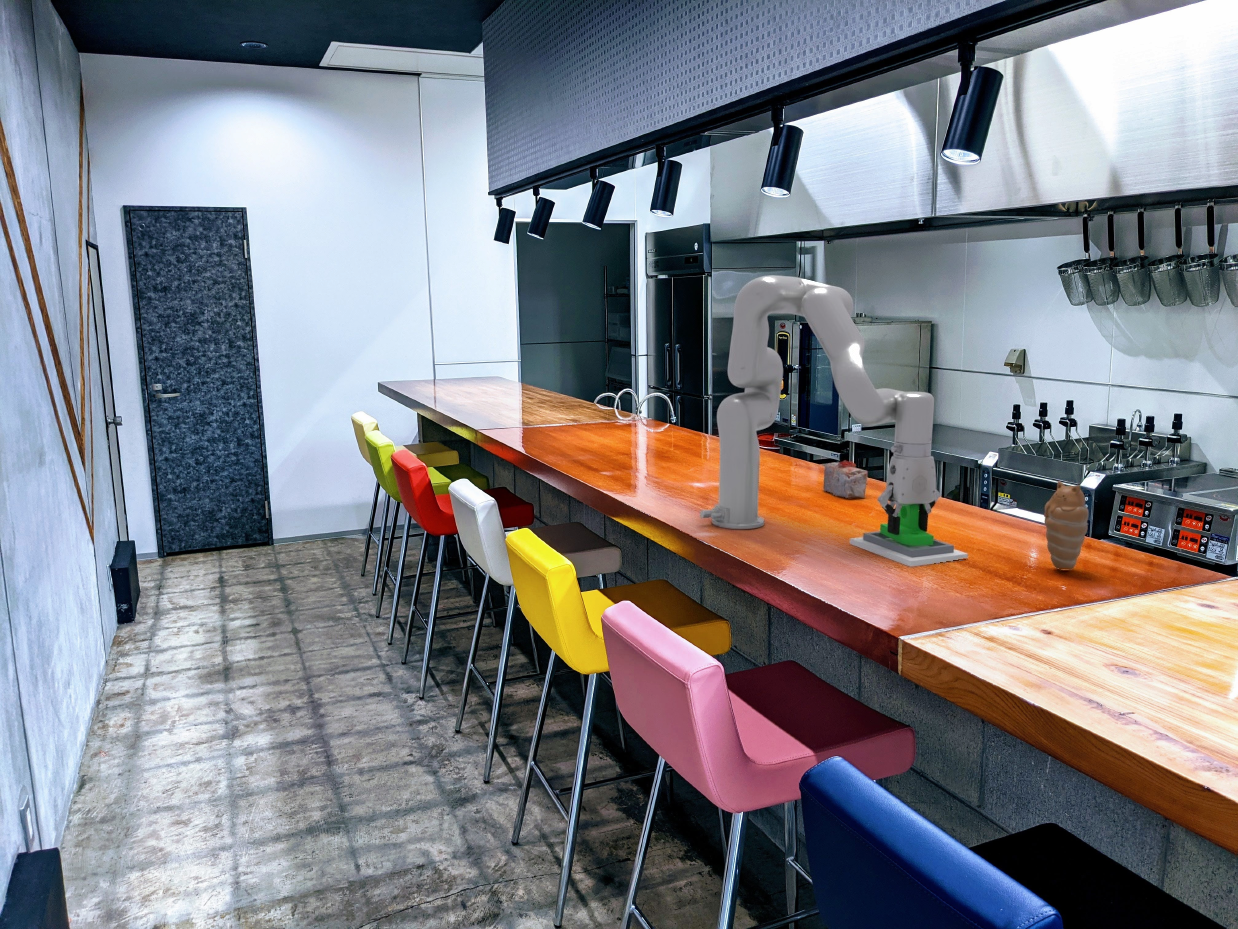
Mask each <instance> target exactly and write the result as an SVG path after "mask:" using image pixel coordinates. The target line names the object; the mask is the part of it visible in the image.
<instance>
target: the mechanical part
mask: <svg viewBox="0 0 1238 929" xmlns="http://www.w3.org/2000/svg"><path fill="white" fill-rule="evenodd" d="M898 516H899V517H900V533H899V535H894V534H891V533H889V532H888V531H887V529H888V527H887V526H888V522H887V523H880V526H879V527H880V528H879V531H880V533H882V534H884V535H886V536H888V537H890V538H892V539H894V540H895V541H897V542H899V543H902V544H905V545H912V546H923V545H933V541H934V539H935V536H934V535H933V534H931V533H928V532H925V531H923V530H920V528H919V526H918V519H919V509H918V505H917V504H914V505H902V508H901V510H900V512H899V514H898Z"/></svg>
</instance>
